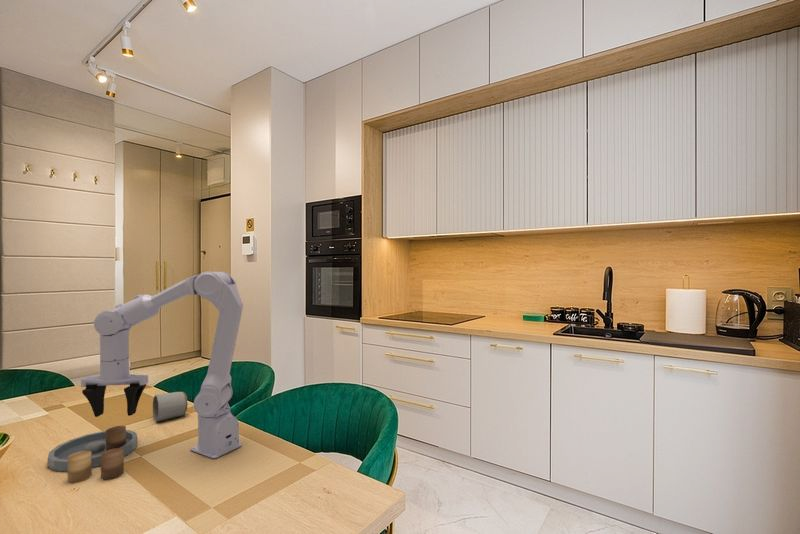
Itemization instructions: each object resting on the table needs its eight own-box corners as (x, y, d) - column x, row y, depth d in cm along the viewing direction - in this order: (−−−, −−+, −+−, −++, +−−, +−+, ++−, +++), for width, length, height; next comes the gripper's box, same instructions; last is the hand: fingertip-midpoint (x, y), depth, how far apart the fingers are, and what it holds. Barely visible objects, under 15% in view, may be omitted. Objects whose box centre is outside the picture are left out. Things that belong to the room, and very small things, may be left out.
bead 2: (129, 445, 98) (129, 425, 98) (117, 453, 94) (117, 432, 94) (114, 445, 99) (114, 425, 99) (101, 453, 95) (101, 432, 95)
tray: (151, 447, 99) (150, 438, 99) (68, 479, 84) (68, 468, 84) (116, 433, 108) (116, 425, 108) (35, 460, 93) (35, 450, 93)
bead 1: (95, 476, 86) (94, 453, 86) (72, 484, 82) (72, 461, 82) (86, 471, 88) (86, 448, 88) (64, 479, 84) (64, 456, 84)
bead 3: (127, 473, 87) (127, 450, 87) (106, 482, 83) (106, 458, 83) (118, 468, 89) (117, 446, 89) (97, 477, 85) (97, 454, 85)
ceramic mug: (189, 417, 119) (188, 391, 119) (158, 424, 113) (157, 398, 113) (178, 409, 127) (178, 385, 127) (149, 415, 121) (148, 390, 121)
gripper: (154, 354, 101) (155, 407, 101) (95, 356, 100) (95, 409, 100) (138, 361, 94) (139, 418, 94) (74, 362, 93) (74, 420, 93)
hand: (115, 414), depth 96 cm, fingers open, 7 cm apart
